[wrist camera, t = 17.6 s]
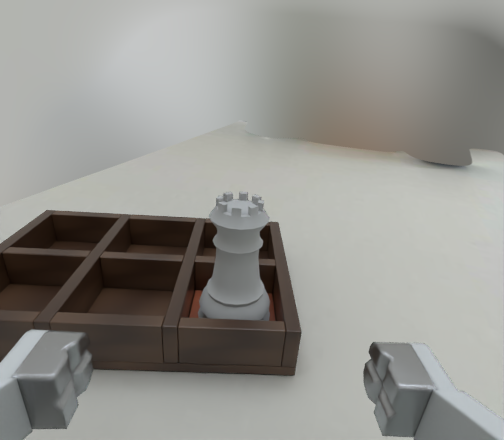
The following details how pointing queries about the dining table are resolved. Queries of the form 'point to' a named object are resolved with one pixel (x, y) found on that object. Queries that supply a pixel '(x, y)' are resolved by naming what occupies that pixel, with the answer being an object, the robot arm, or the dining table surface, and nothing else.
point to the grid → (142, 293)
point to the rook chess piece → (236, 261)
